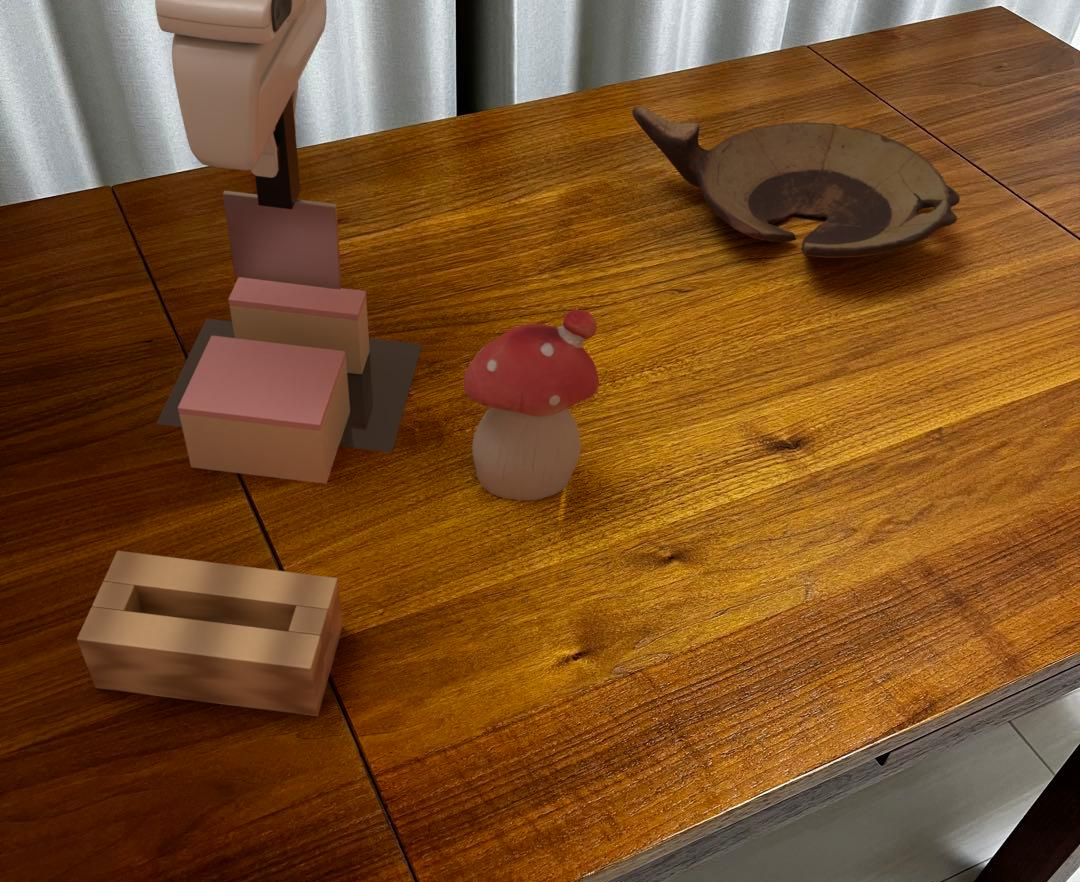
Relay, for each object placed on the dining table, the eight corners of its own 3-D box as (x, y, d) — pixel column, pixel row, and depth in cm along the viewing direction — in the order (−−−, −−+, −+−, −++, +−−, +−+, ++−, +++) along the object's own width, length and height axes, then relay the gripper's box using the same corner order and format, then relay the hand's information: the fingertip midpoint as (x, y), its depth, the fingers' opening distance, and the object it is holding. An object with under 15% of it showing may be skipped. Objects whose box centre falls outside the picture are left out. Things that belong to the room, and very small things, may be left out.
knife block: (98, 696, 75) (75, 639, 70) (135, 609, 79) (117, 550, 75) (319, 724, 74) (310, 669, 70) (343, 635, 79) (337, 577, 74)
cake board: (134, 479, 87) (132, 471, 86) (207, 325, 99) (206, 318, 98) (378, 509, 86) (378, 501, 86) (422, 351, 98) (422, 343, 98)
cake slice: (238, 360, 95) (227, 299, 91) (248, 336, 97) (238, 275, 93) (362, 375, 95) (357, 314, 90) (369, 351, 97) (366, 290, 92)
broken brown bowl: (869, 332, 103) (894, 258, 98) (595, 196, 115) (603, 123, 109) (980, 225, 116) (1008, 154, 110) (722, 112, 127) (735, 42, 121)
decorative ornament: (587, 453, 91) (607, 294, 80) (585, 516, 87) (606, 357, 76) (466, 444, 91) (469, 283, 80) (458, 506, 87) (460, 346, 76)
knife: (230, 284, 88) (202, 91, 77) (239, 266, 90) (213, 74, 79) (337, 298, 88) (325, 106, 77) (344, 279, 89) (333, 88, 78)
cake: (191, 468, 87) (177, 407, 82) (222, 396, 92) (211, 335, 88) (326, 485, 87) (320, 424, 82) (350, 411, 92) (345, 350, 87)
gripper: (247, -124, 78) (268, 77, 88) (142, 16, 64) (182, 235, 75) (342, -113, 78) (352, 87, 88) (258, 30, 64) (282, 247, 74)
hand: (274, 156), depth 81 cm, fingers closed on knife, 2 cm apart
